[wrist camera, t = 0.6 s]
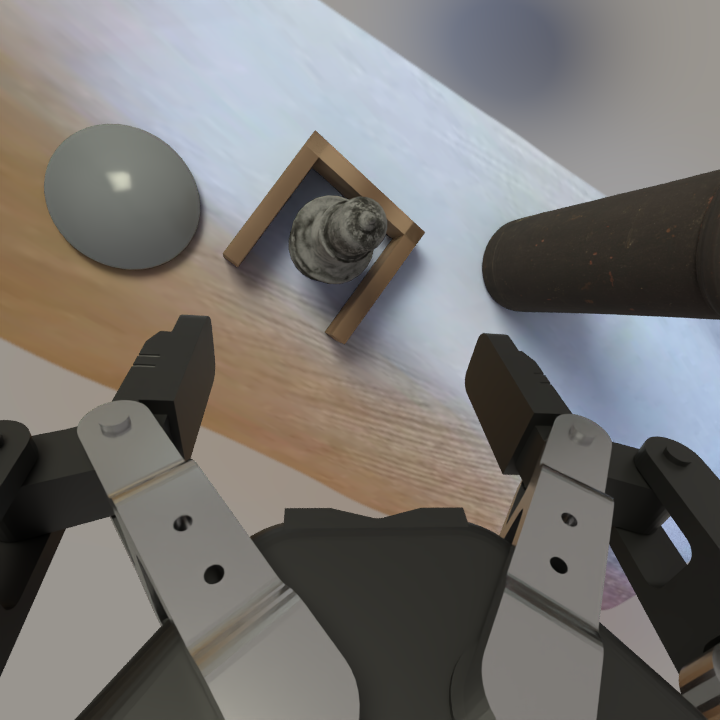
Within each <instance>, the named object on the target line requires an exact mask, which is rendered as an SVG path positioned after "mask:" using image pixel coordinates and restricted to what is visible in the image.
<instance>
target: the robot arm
mask: <svg viewBox="0 0 720 720" xmlns="http://www.w3.org/2000/svg"><path fill="white" fill-rule="evenodd" d="M214 376H215V355H214V345H213V335H212V325H211V319H210V317H209V316H197V315H180V317H179V319H178V321H177V323H176V325H175V327H174V329H173V331H172V332H167V331H160V332H158V333H157V334H156V335H154V336H153V337H151V338H150V339H149V340H147V341H146V342H145V344H144V346H143V348H142V349H141V351H140V353H139V356H137V358H136V360H135V362H134V363H133V366H132V367H131V369H130V370H129V372H128V374H127V376H126V377H125V379H124V381H123V383H122V384H121V386H120V388H119V390H118V391H117V393H116V395H115V397H114V398H113V400H112V402H109V403H106V404H103V405H100V406H98V407H96V408H94V409H92V410H91V411H90V412H88V413H87V414H86V415H85V416H84V417H83V418H82V419H81V421H80V422H79V424H78V426H77V427H74V428H70V429H66V430H61V431H55V432H50V433H45V434H39V435H35V436H31V434H30V432H29V429H28V428H27V427H26V426H25V425H24V424H22V423H19V422H17V421H11V420H0V676H1V674H2V672H3V669H4V667H5V665H6V663H7V660H8V658H9V656H10V653H11V651H12V649H13V647H14V645H15V642H16V640H17V637H18V635H19V633H20V631H21V629H22V626H23V624H24V622H25V620H26V617H27V615H28V613H29V611H30V608H31V606H32V604H33V602H34V599H35V597H36V595H37V593H38V590H39V588H40V586H41V584H42V581H43V579H44V577H45V574H46V572H47V570H48V567H49V565H50V563H51V561H52V558H53V556H54V554H55V552H56V550H57V547H58V545H59V543H60V540H61V538H62V536H63V534H64V531H65V529H66V528H69V527H73V526H77V525H80V524H83V523H88V522H91V521H95V520H99V519H102V518H106V517H110V518H111V520H112V522H113V525H114V527H115V529H116V531H117V533H118V535H119V537H120V539H121V541H122V543H123V545H124V547H125V549H126V551H127V554H128V556H129V558H130V560H131V562H132V564H133V566H134V568H135V570H136V572H137V574H138V577H139V579H140V581H141V583H142V586H143V588H144V590H145V592H146V595H147V597H148V600H149V602H150V604H151V606H152V608H153V611H154V613H155V615H156V617H157V619H158V621H159V623H160V625H161V627H160V628H159V629H158V631H156V633H155V634H154V635H153V636H152V637H151V638H150V639H149V640H148V641H147V642H146V643H145V644H144V646H143V647H142V648H141V649H140V650H139V651H138V652H137V653H136V654H135V655H134V656H133V657H132V659H131V660H130V661H129V662H128V663H127V664H126V665H125V666H124V667H123V668H122V669H121V670H120V671H119V672H118V674H117V675H116V676H115V677H114V678H113V679H112V680H111V681H110V682H109V683H108V684H107V685H106V687H105V688H104V689H103V690H102V691H101V692H100V693H99V694H98V695H97V696H96V697H95V698H94V699H93V701H92V702H91V703H90V704H89V705H88V706H87V707H86V708H85V709H84V710H83V711H82V712H81V713H80V715H79V716H78V717H77V718H76V719H75V720H720V480H719V478H718V477H717V476H716V475H715V474H714V473H713V472H712V471H711V469H710V468H709V467H708V466H707V465H706V464H705V463H704V461H703V460H702V459H701V458H700V457H699V456H698V455H697V454H696V453H694V452H693V451H692V450H690V449H689V448H688V447H686V446H684V445H682V444H681V443H679V442H676V441H674V440H671V439H668V438H664V437H651V438H648V439H647V440H646V441H645V443H644V444H643V445H642V447H641V448H640V449H637V448H633V447H629V446H626V445H622V444H618V443H614V442H612V441H611V439H610V437H609V435H608V434H607V432H606V431H605V430H604V429H603V428H602V427H600V426H599V425H598V424H596V423H595V422H593V421H591V420H589V419H587V418H585V417H582V416H579V415H575V414H572V413H571V411H570V410H569V409H568V407H567V406H566V404H565V403H564V401H563V400H562V399H561V397H560V396H559V394H558V393H557V392H556V390H555V389H554V387H553V386H552V385H550V382H549V380H548V379H547V377H546V376H545V375H543V372H542V370H541V369H540V367H539V366H538V365H537V363H536V362H535V361H534V360H533V359H531V358H530V357H529V356H527V355H526V354H525V353H524V352H522V351H518V349H517V348H516V346H515V345H514V343H513V342H512V340H511V339H510V337H509V336H508V335H504V334H487V333H483V334H481V335H480V336H479V338H478V340H477V343H476V346H475V349H474V352H473V355H472V357H471V360H470V363H469V366H468V369H467V372H466V376H465V388H466V392H467V395H468V397H469V399H470V401H471V404H472V406H473V408H474V410H475V413H476V415H477V417H478V419H479V422H480V424H481V426H482V428H483V431H484V433H485V435H486V437H487V440H488V442H489V444H490V446H491V449H492V451H493V453H494V455H495V458H496V460H497V462H498V464H499V467H500V469H501V471H502V474H503V475H520V477H521V479H522V481H521V482H520V484H519V486H518V488H517V491H516V493H515V496H514V498H513V501H512V504H511V506H510V509H509V511H508V514H507V517H506V519H505V522H504V525H503V527H502V530H501V532H500V535H497V534H495V533H494V532H492V531H490V530H488V529H486V528H483V527H481V526H478V525H475V524H473V523H469V522H467V519H466V516H465V513H464V509H463V508H419V509H415V510H411V511H407V512H403V513H400V514H396V515H392V516H388V517H384V518H379V519H378V518H371V517H366V516H362V515H358V514H354V513H349V512H345V511H340V510H336V509H332V508H290V509H289V508H287V509H285V515H284V523H281V524H277V525H274V526H271V527H269V528H266V529H263V530H262V531H260V532H258V533H256V534H254V535H252V536H251V537H249V536H248V534H247V533H246V531H245V530H244V529H243V527H242V526H241V525H240V523H239V522H238V520H237V519H236V517H235V516H234V515H233V513H232V512H231V510H230V509H229V508H228V506H227V505H226V503H225V502H224V501H223V499H222V498H221V496H220V495H219V494H218V492H217V491H216V489H215V488H214V487H213V485H212V484H211V483H210V481H209V480H208V478H207V477H206V475H205V474H204V473H203V471H202V470H201V468H200V467H199V466H198V464H197V463H196V462H195V461H194V460H193V459H190V458H191V455H192V452H193V448H194V444H195V442H196V438H197V435H198V432H199V428H200V425H201V422H202V418H203V415H204V412H205V408H206V405H207V402H208V398H209V395H210V392H211V388H212V385H213V381H214ZM670 516H671V517H672V518H673V520H674V521H675V523H676V524H677V525H678V527H679V528H680V530H681V531H682V533H683V534H684V535H685V537H686V538H687V540H688V542H689V544H690V546H691V551H692V557H691V561H690V562H689V564H688V565H687V564H686V562H685V561H684V559H683V558H682V556H681V555H680V553H679V552H678V550H677V549H676V547H675V546H674V544H673V543H672V541H671V540H670V538H669V537H668V535H667V534H666V532H665V531H664V529H663V528H662V526H661V525H662V524H663V523H664V522H665V521H666V520H667V519H668V518H669V517H670ZM609 545H610V546H611V548H612V550H613V552H614V554H615V556H616V558H617V560H618V561H619V563H620V565H621V567H622V569H623V571H624V573H625V574H626V576H627V578H628V580H629V582H630V584H631V586H632V587H633V589H634V591H635V593H636V595H637V597H638V599H639V601H640V602H641V604H642V606H643V608H644V610H645V612H646V614H647V615H648V617H649V619H650V621H651V623H652V625H653V627H654V628H655V630H656V632H657V634H658V636H659V638H660V640H661V641H662V643H663V645H664V647H665V649H666V651H667V653H668V655H669V656H670V658H671V660H672V662H673V664H674V665H675V668H676V669H677V671H678V673H679V687H680V692H681V694H680V693H679V692H678V691H677V690H676V689H674V688H673V687H672V686H671V685H670V684H669V683H668V682H667V681H666V680H664V679H663V678H662V677H661V676H660V675H659V674H658V673H656V672H655V671H654V670H653V669H652V668H651V667H650V666H649V665H647V664H646V663H645V662H644V661H643V660H642V659H641V658H640V657H638V656H637V655H636V654H635V653H634V652H633V651H632V650H631V649H629V648H628V647H627V646H626V645H625V644H624V643H623V642H621V641H620V640H619V639H618V638H617V637H616V636H615V635H614V634H612V633H611V632H610V631H609V630H608V629H606V627H605V626H603V625H602V624H601V623H600V622H599V619H600V611H601V603H602V596H603V588H604V580H605V572H606V564H607V556H608V548H609Z"/></svg>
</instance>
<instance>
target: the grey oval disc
mask: <svg viewBox="0 0 720 720" xmlns="http://www.w3.org/2000/svg"><path fill="white" fill-rule="evenodd" d="M44 193H45V199H46V204H47V207H48V210H49V213H50V216H51V218H52V220H53V222H54V224H55V225H56V227H57V228H58V230H59V231H60V233H61V234H62V235H63V236H64V237H65V239H66V240H67V241H68V242H69V243H70V244H71V245H72V246H73V247H75V248H76V249H77V250H79V251H80V252H81V253H83V254H84V255H86V256H88V257H89V258H91V259H93V260H95V261H97V262H100V263H102V264H105V265H108V266H111V267H116V268H121V269H130V270H139V269H148V268H153V267H156V266H160V265H162V264H164V263H166V262H169V261H170V260H172V259H173V258H175V257H176V256H178V255H179V254H180V253H181V252H182V251H183V250H184V249H185V248H186V247H187V246H188V244H189V243H190V241H191V240H192V238H193V236H194V234H195V232H196V230H197V226H198V223H199V217H200V200H199V194H198V190H197V186H196V183H195V181H194V178H193V176H192V174H191V172H190V170H189V168H188V167H187V165H186V164H185V162H184V161H183V160H182V158H181V157H180V156H179V155H178V154H177V153H176V152H175V151H174V150H173V149H172V148H171V147H170V146H169V145H168V144H166V143H165V142H164V141H162V140H161V139H159V138H158V137H156V136H154V135H152V134H151V133H148V132H146V131H144V130H141V129H138V128H135V127H131V126H126V125H120V124H103V125H96V126H92V127H88V128H85V129H83V130H80V131H78V132H76V133H75V134H73V135H71V136H70V137H69V138H67V139H66V140H65V141H63V143H62V144H61V145H60V146H59V147H58V148H57V149H56V151H55V152H54V154H53V155H52V157H51V159H50V161H49V164H48V166H47V170H46V174H45V181H44Z"/></svg>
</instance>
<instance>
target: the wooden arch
mask: <svg viewBox="0 0 720 720" xmlns="http://www.w3.org/2000/svg"><path fill="white" fill-rule="evenodd" d="M312 168H313V169H314V170H315V171H316V172H318V173H319V174H320V175H321V176H322V177H323V178H324V179H325V180H327V181H328V182H329V183H330V184H331V185H332V186H333V187H334V188H336V189H337V190H338V191H339V192H340V193H341V194H342V195H343V196H344V197H346V198H347V199H349V200H350V199H352V198H355V197H368V198H371V199H373V200H375V201H376V202H378V203H379V204H380V206H381V207H382V208H383V210H384V212H385V214H386V218H387V231H386V234H387V235H388V236H389V237H390V238H392V240H391V241H390V243H389V244H388V245H387V247H386V248H385V250H384V251H383V252H382V254H381V255H380V256H379V258H378V259H377V261H376V262H375V263H374V265H373V266H372V268H371V269H370V270H369V272H368V273H367V274H366V276H365V277H364V279H363V280H362V281H361V283H360V284H359V285H358V287H357V288H356V290H355V291H354V292H353V294H352V295H351V297H350V298H349V299H348V301H347V302H346V303H345V305H344V306H343V308H342V309H341V310H340V312H339V313H338V315H337V316H336V317H335V319H334V320H333V321H332V323H331V324H330V326H329V327H328V328H327V330H326V331H325V333H327V334H328V335H329V336H331V337H332V338H333V339H335V340H336V341H338V342H340V343H343V344H345V343H346V342H347V340H348V339H349V338H350V336H351V335H352V333H353V332H354V331H355V329H356V328H357V326H358V325H359V324H360V322H361V321H362V319H363V318H364V317H365V315H366V314H367V312H368V311H369V310H370V308H371V307H372V306H373V304H374V303H375V301H376V300H377V299H378V297H379V296H380V294H381V293H382V292H383V290H384V289H385V287H386V286H387V285H388V283H389V282H390V280H391V279H392V278H393V276H394V275H395V274H396V272H397V271H398V269H399V268H400V267H401V265H402V264H403V262H404V261H405V260H406V258H407V257H408V255H409V254H410V253H411V251H412V250H413V248H414V247H415V246H416V244H417V243H418V242H419V240H420V239H421V237H422V236H423V235H424V233H425V232H424V231H423V230H422V229H421V228H420V227H419V226H418V225H417V224H416V223H414V222H413V221H412V220H411V219H410V218H409V217H408V216H407V215H406V214H405V213H404V212H403V211H402V210H400V209H399V208H398V207H397V206H396V205H395V204H394V203H393V202H392V201H391V200H390V199H389V198H388V197H386V196H385V195H384V194H383V193H382V192H381V191H380V190H379V189H378V188H377V187H376V186H375V185H374V184H372V183H371V182H370V181H369V180H368V179H367V178H366V177H365V176H364V175H363V174H362V173H361V172H360V171H359V170H357V169H356V168H355V167H354V166H353V165H352V164H351V163H350V162H349V161H348V160H347V159H346V158H345V157H343V156H342V155H341V154H340V153H339V152H338V151H337V150H336V149H335V148H334V147H333V146H332V145H331V144H329V143H328V142H327V141H326V140H325V139H324V138H323V137H322V136H321V135H320V134H319V133H318V132H317V131H316V130H315V131H314V132H313V134H312V135H311V136H310V138H309V139H308V140H307V142H306V143H305V144H304V146H303V147H302V148H301V150H300V151H299V152H298V154H297V155H296V156H295V158H294V159H293V160H292V162H291V163H290V164H289V166H288V167H287V168H286V170H285V171H284V172H283V174H282V175H281V176H280V178H279V179H278V180H277V182H276V183H275V184H274V186H273V187H272V188H271V190H270V191H269V192H268V194H267V195H266V196H265V198H264V199H263V200H262V202H261V203H260V204H259V206H258V207H257V208H256V210H255V211H254V213H253V214H252V215H251V217H250V218H249V219H248V221H247V222H246V223H245V225H244V226H243V227H242V229H241V230H240V231H239V233H238V234H237V235H236V237H235V238H234V239H233V241H232V242H231V243H230V245H229V246H228V247H227V249H226V250H225V251H224V253H223V257H224V258H226V259H227V260H228V261H230V262H231V263H232V264H234V265H235V266H237V267H239V265H240V264H241V263H242V261H243V260H244V259H245V257H246V256H247V255H248V253H249V252H250V251H251V249H252V248H253V247H254V245H255V244H256V243H257V241H258V240H259V239H260V237H261V236H262V234H263V233H264V232H265V230H266V229H267V228H268V226H269V225H270V224H271V222H272V221H273V220H274V218H275V217H276V216H277V214H278V213H279V212H280V210H281V209H282V208H283V206H284V205H285V204H286V202H287V201H288V200H289V198H290V197H291V196H292V194H293V193H294V192H295V190H296V189H297V188H298V186H299V185H300V183H301V182H302V181H303V179H304V178H305V177H306V175H307V174H308V173H309V171H310V170H311V169H312Z"/></svg>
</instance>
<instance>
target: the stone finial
mask: <svg viewBox="0 0 720 720" xmlns="http://www.w3.org/2000/svg"><path fill="white" fill-rule="evenodd" d="M386 231H387V218H386V214H385V212H384V210H383V208H382V207H381V206H380V204H379V203H378V202H376V201H375V200H373V199H371V198H368V197H355V198H352V199H350V200H349V199H346V198H343V197H340V196H329V195H327V196H322V197H318V198H315V199H314V200H312V201H310V202H308V203H307V204H306V205H305V206H304V207H303V208H302V209H301V210H300V211H299V212H298V214H297V216H296V218H295V220H294V222H293V225H292V230H291V232H290V236H289V252H290V256H291V259H292V261H293V263H294V264H295V266H296V268H297V269H298V270H299V271H300V272H301V273H302V274H303V275H305V276H307V277H309V278H310V279H313V280H317V281H321V282H324V283H328V284H341V283H344V282H348V281H351V280H352V279H354V278H356V277H357V276H359V275H360V274H361V273H362V272H363V271H364V270H365V269H366V268H367V266H368V264H369V262H370V260H371V258H372V255H373V250H374V249H375V248H376V247H378V245H379V244H380V243H381V242H382V241H383V239H384V237H385V235H386Z"/></svg>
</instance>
